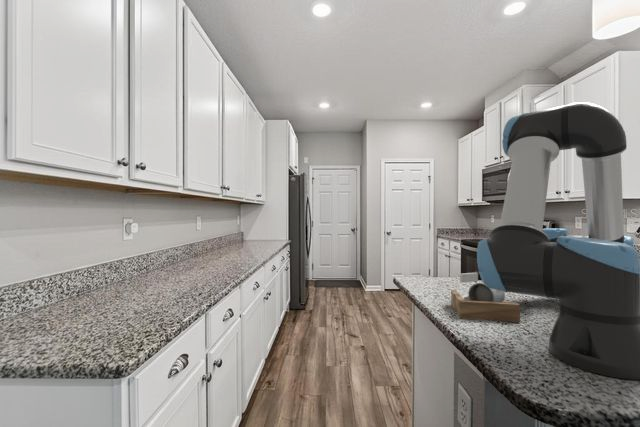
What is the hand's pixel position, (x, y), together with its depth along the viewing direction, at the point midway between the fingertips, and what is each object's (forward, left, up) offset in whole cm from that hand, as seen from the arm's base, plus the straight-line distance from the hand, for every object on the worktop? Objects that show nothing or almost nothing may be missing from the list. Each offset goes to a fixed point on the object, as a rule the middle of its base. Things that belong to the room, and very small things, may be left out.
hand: (477, 282), depth 90 cm
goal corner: (-1, -1, -8) cm, 8 cm away
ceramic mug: (+3, -2, -8) cm, 9 cm away
